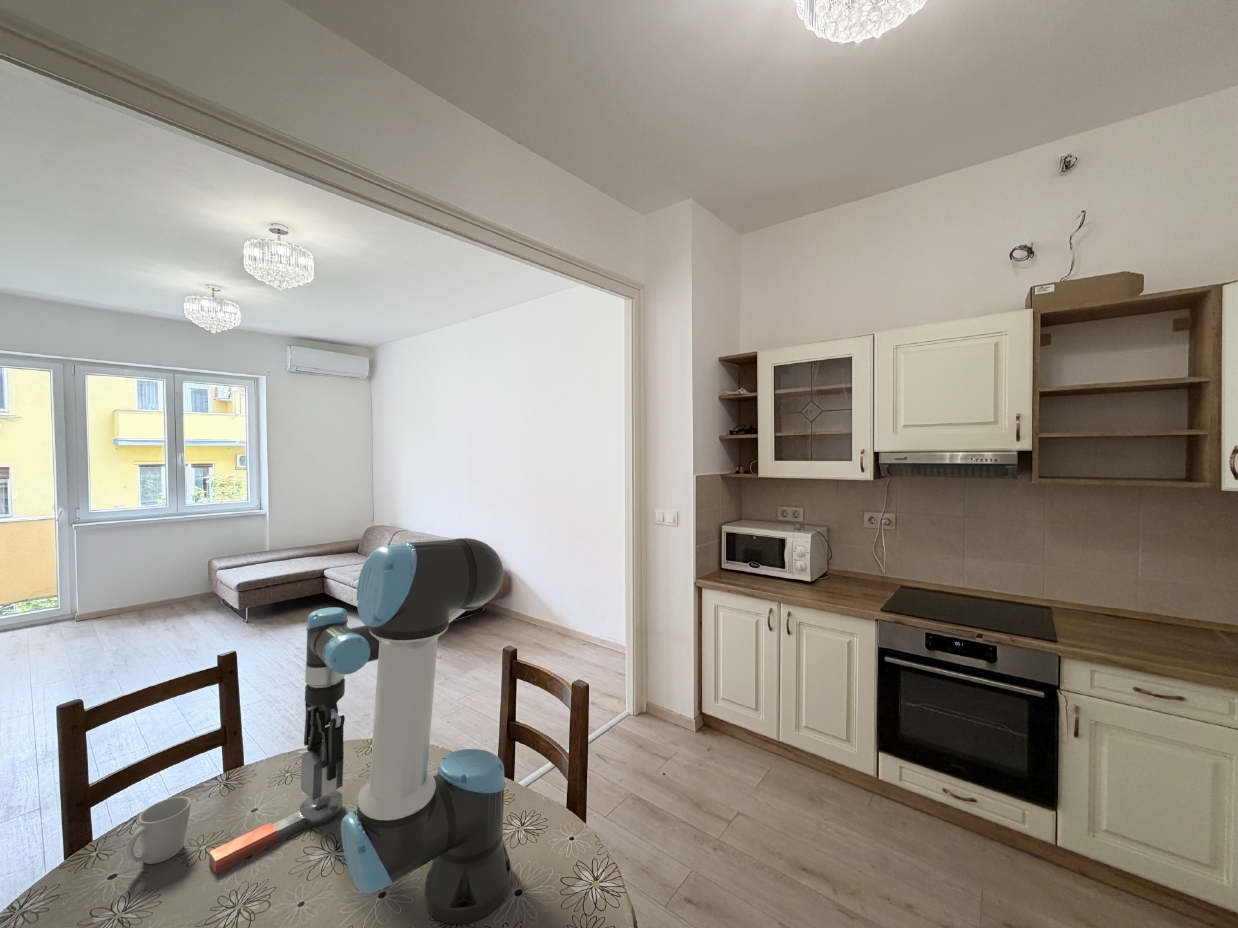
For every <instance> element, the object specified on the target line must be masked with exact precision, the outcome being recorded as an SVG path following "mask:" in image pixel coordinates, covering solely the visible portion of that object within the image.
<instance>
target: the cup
mask: <svg viewBox="0 0 1238 928" xmlns="http://www.w3.org/2000/svg"><path fill="white" fill-rule="evenodd" d="M191 805H192V800H191V799H190V798H189V797H187V796H176V797H175V796H174V797H170V798H167V799H163V800H161V801H159V802H158V801H157V802H156V803H154V804H152V805H150V806H149V807H147V808H145V809H144V810H143V811H142V812H141V813H140V815H139V816H138V821H137V822H138V828H137V829H136V831H134V833H133V834H132V836H131V837H130V838H129V841H128V843H127V847H126V855H127V858H128V859H129V860H130V861H132V862H134V863H141V862H144V863H145V864H148V865H153V864H159V863H163V862H165V861H168V860H170V859H172V858H173V857H174V856H176V855H177V854H178V853H180V852H181V850H182V849H183V848H184V844H185V839H186V834H187V828H188V823H189V819H190V818H189V817H190V812H191ZM139 838H140V839H139ZM137 839H139V840H140V846H141V851H142V852H141V855H139V856H136V855H135V853H134V847H135V843H136V841H137Z"/></svg>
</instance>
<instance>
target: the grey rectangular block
mask: <svg viewBox="0 0 1238 928" xmlns="http://www.w3.org/2000/svg"><path fill="white" fill-rule="evenodd" d="M344 755H345V754H344V751H343V757H344ZM322 764H325V760H324V750H323V746H321V747H319V748H316V749H314V750H311V751H309V752H308V751H307V752H305V753H302V754H301V766H300V767H301V770H300V771H301V772H300V790H301V791H302V792H303V793H304V794H305V795H306V796H307V797H308V798H309V797H310V798H311V799H312V800H315V799H317V798H319V797H321V790H322V767H321V765H322ZM343 779H344V760H343V761H342V762H340V763H338V764H337V784H336V790H338V789H340V788H342V787H343V784H344V783H343Z"/></svg>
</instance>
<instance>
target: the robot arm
mask: <svg viewBox="0 0 1238 928" xmlns="http://www.w3.org/2000/svg"><path fill="white" fill-rule="evenodd" d="M502 562H503V561H502V560H501V557H500V556H499V555H498V553H497V552H496V551H495V550H494V548H493V547H491V546H490V545H489V544H487V543H486V542H483V541H481V540H479V539H475V538H470V537H469V538H468V537H463V538H460V537H459V538H454V539H453V538H452V539H441V540H428V541H413V542H412V541H411V542H406V541H405V542H401V543H398V544H391V545H383V546H381V547H378V548H376V549H374V550H373V551H371V553H370V555H369V556H368V557H366V559H365V561H364V562H363V565H362V566H361V567H362V568H361V569H360V573H359V576H358V581H357V588H356V601H357V609H356V610H357V613H358V617H359V620H360V621H361V622H362V624H363V625H361V626H356V627H349V626H348V623H349V620H348V612H347V611H348V610H347V609H345V608H342V607H334V606H333V607H325V608H320V609H316V610H313V611H312V612H311V613H310V614H309V615H308V617H307V626H306V629H305V630H306V656H305V657H306V661H305V662H306V663H305V670H304V671H305V672H304V673H305V677H304V678H305V679H304V682H305V684H306V685H304V686H305V688H304V691H305V692H304V702H305V704H304V706H305V719H304V721H305V722H304V735H303V737H304V738H303V745H304V746H305V747H306V746H307V747H306V749H307V752H309V751H311V750H314V749H316V748H319V747H321V746H323V750H324V760H325V764H322V765H321V767H322V790H321V796H323V797H324V796H326V795H328V794H330V793H332V792H334V791H337V789H336V784H337V764H338V763H340V762H342V761H343V762H344V756H343V752H344V725H345V721H346V717H345V715H344V714H342V715H339V707H338V702H339V701H340V700H341V699H342V698H343V697H344V696H345V692H346V691H345V690H346V689H345V687H346V686H345V685H346V680H345V675H350V674H354V673H356V672H358V671H359V670H361V669H362V668H363V667H364V666H365V665H366V664H367V663H369V662H374V661H377V671H376V673H377V675H376V687H375V698H374V699H375V702H374V715H373V716H374V717H373V729H372V742H371V743H372V745H371V754H370V757H371V759H370V770H369V772H370V773H369V780H368V781H367V782H366V783H365V784H363V786H362V787H361V789H360V791H359V793H358V797H357V802H356V803H357V804H356V807H357V808H356V809H355V810H351V811H349V813H347V814H345V815H344V817H343V818H342V819H341V823H340V834H341V836H340V838H341V842H342V848H343V853H344V858H345V861H346V865H347V868H348V871H349V874H350V877H351V878H352V882H353V883H354V884H355V887H356V889H358V891H359V892H361V893H362V894H365V895H370V894H373V893H376V892H378V891H380V890H383V889H384V888H386V887H388V886H391V885H393V884H394V883H396V882H397V881H399V880H401V879H403V878H404V877H406V876H407V875H409V874H410V873H413V872H415V871H416V870H418V869H419V868H422V867H423V866H424V865H427V864H428V863H429V862H431V866H430V868H429V870H428V872H427V874H426V879H425V884H424V898H423V899H424V906H425V907H426V910H427V912H428V913H429V915H431V917H433V918H434V919H436V920H437V921H440V922H442V923H445V924H451V925H452V924H453V925H463V924H468V923H472V922H475V921H478V920H481V919H482V918H483V919H484V917H487V916H488V915H490V914H491V913H493V912H494V911H496V909H497V908H498V907H500V905H501V904H502V903H503V902H504V900H505V899H506V898H507V897H508V896H507V895H508V894H509V892H510V888H511V884H512V863H511V859H510V856H509V854H508V850H507V847H506V844H505V841H504V837H503V835H504V832H503V831H504V806H505V803H504V801H505V788H506V781H505V780H506V779H505V767H504V764H503V761H502V760H501V759H500V757H498V756H497V755H496V754H494V753H492V752H490V751H488V750H485V749H480V748H479V749H478V748H466V749H465V748H464V749H459V750H455V751H452V752H450V753H448V754H446V755H445V756H443V758H442V759H441V760H440V762H439V763H438V766H437V774H435V775H433V774H432V773H431V772H429V771H428V770H429V757H430V744H431V743H430V741H431V732H432V731H431V729H432V716H433V705H434V704H433V703H434V694H435V693H434V690H435V677H436V663H437V651H438V641H439V637H440V636H442V635H443V634H444V633H445V632H446V631H447V630H448V629H449V626H450V623H451V622H453V621H454V620H456V618H458V617H459V616H461V615H462V614H463V613H465V612H466V611H474V610H477V609H479V608H481V607H482V606H484V605H485V604H487V603H488V602H489V601H490V600H492V599H493V598H494V597H495V596H496V595H497V594H498V592H499V591H500V588H501V586H502V584H503V580H504V566H503V563H502Z"/></svg>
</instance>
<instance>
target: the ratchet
mask: <svg viewBox="0 0 1238 928" xmlns="http://www.w3.org/2000/svg"><path fill="white" fill-rule="evenodd" d="M342 811H343V795H342V793H341V791H338V790H336V791H334V792H332V793H330V794H328V795H326V796H324V797H323V796H321V797H319V798H317V799H315V800H312V799H311V798H310V797H309V796H308V797H307V798H306V799H305V800H303V801H302V803H301V804H300V806H299V810H298V811H297V812H294V813H293V814H291V815H289V816H287V817H284V818H282V819H280V820H278V821H276V822H274V823H272V822H268V823H265V824H263V825H262V826H259V827H258V828H255V829H254V830H252V831H249V832H247V833H246V834H243V835H241V836H239V837H237V838H235V839H233V840H231V841H229V842H227V843H224V844H223V845H220V846H218V847H216V848H213V849H212V850H210V851H209V857H208V858H209V859H208V861H209V863H208V865H209V867H210V868H211V870H212V871H213V873H214V874H215V875H216V874H218V873H220V872H222V871H225V870H226V869H227V868H230V867H231V866H233V865H235V864H237V863H239V862H241V861H243V860H244V859H248V858H249V857H251V856H252V855H254V854H256V853H259V852H260V851H263V850H264V849H267V848H268V847H271V846H272V845H274V844H276V843H278V841H280V840H282V839H284V838H286V837H288V836H289V835H292V834H294V833H296V832H297V831H299V830H302V829H303V828H306V827H307V828H316V827H321V826H323V825H326V824H329V823H331V822H332V821H334V820H335V819H337V818H338V816H339V815H340V814H341V812H342Z"/></svg>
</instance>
